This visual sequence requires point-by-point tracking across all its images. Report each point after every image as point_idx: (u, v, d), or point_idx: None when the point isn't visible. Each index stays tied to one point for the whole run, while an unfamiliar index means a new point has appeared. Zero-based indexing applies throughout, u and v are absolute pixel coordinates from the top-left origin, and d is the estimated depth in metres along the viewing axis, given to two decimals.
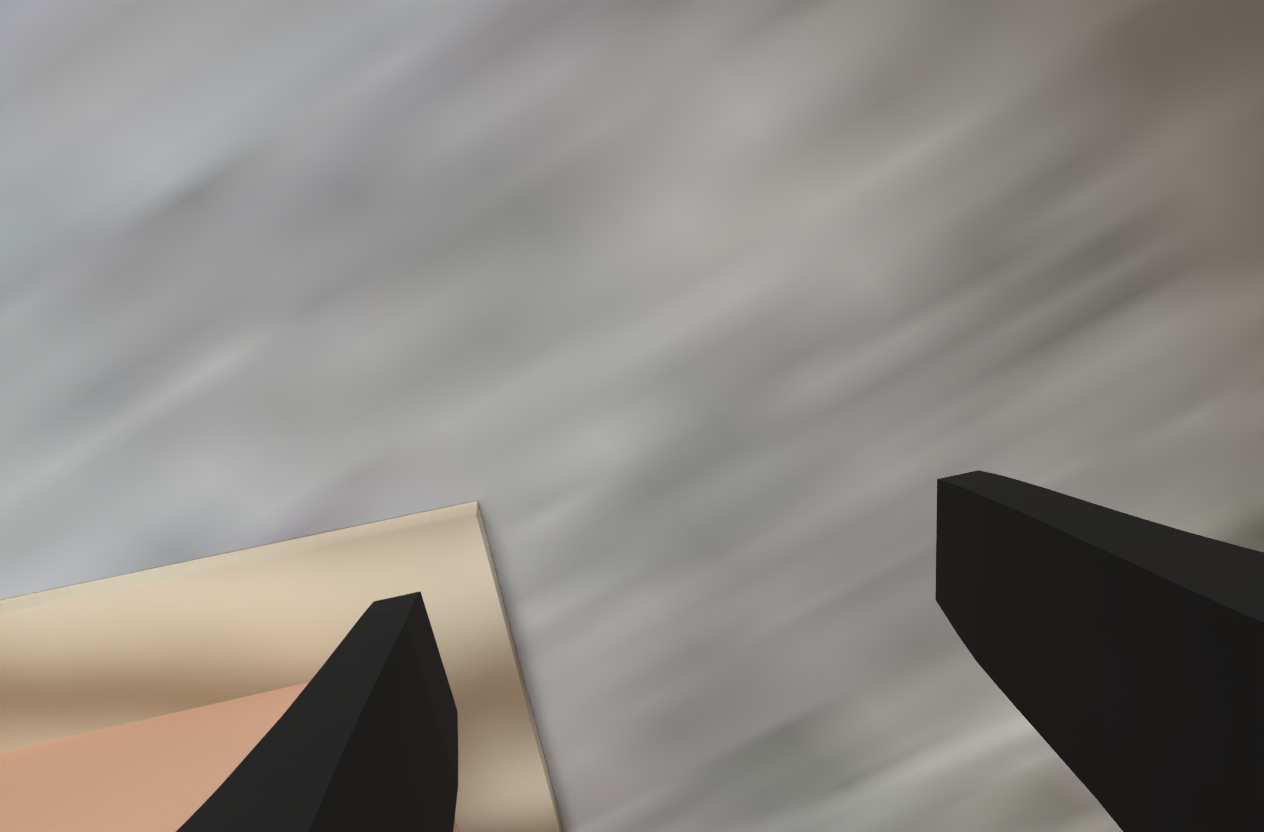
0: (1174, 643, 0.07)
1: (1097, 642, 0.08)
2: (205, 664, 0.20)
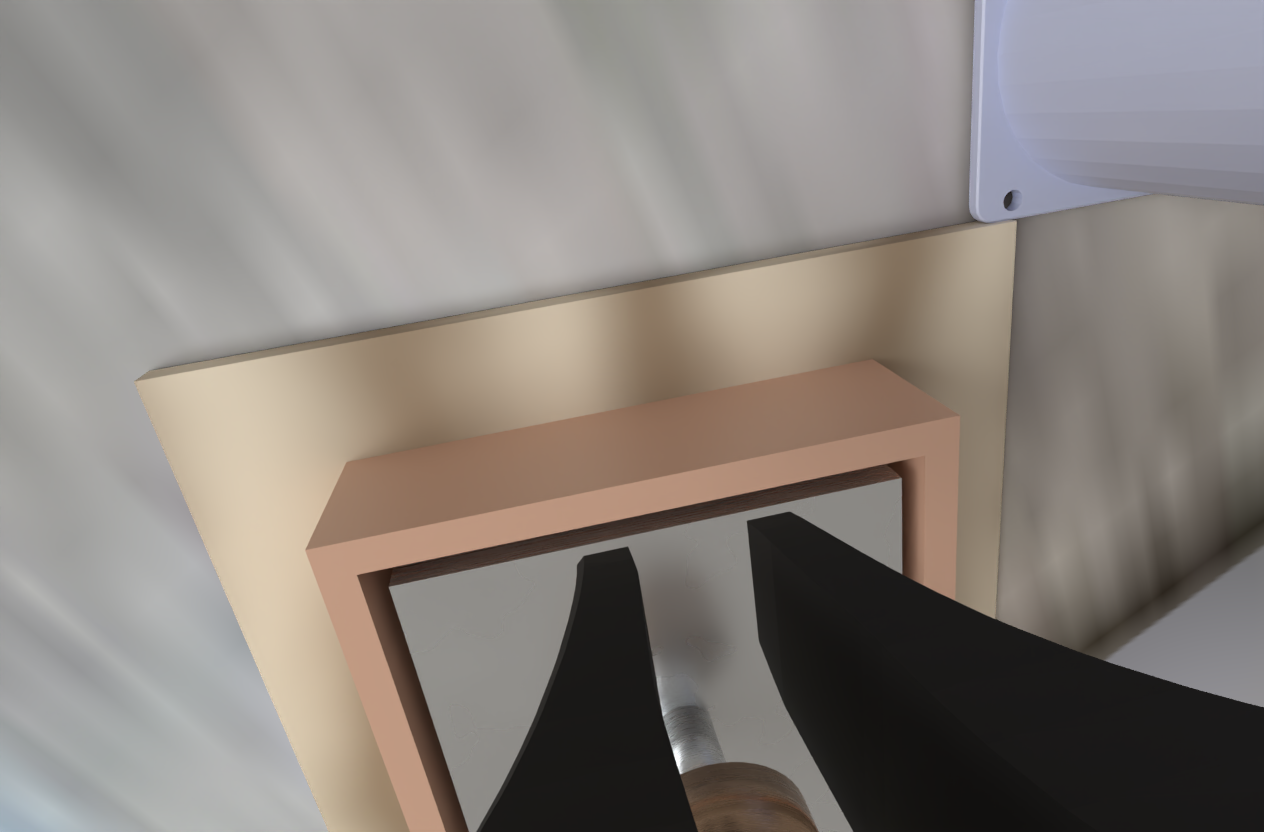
0: (894, 712, 0.06)
1: (852, 702, 0.07)
2: None
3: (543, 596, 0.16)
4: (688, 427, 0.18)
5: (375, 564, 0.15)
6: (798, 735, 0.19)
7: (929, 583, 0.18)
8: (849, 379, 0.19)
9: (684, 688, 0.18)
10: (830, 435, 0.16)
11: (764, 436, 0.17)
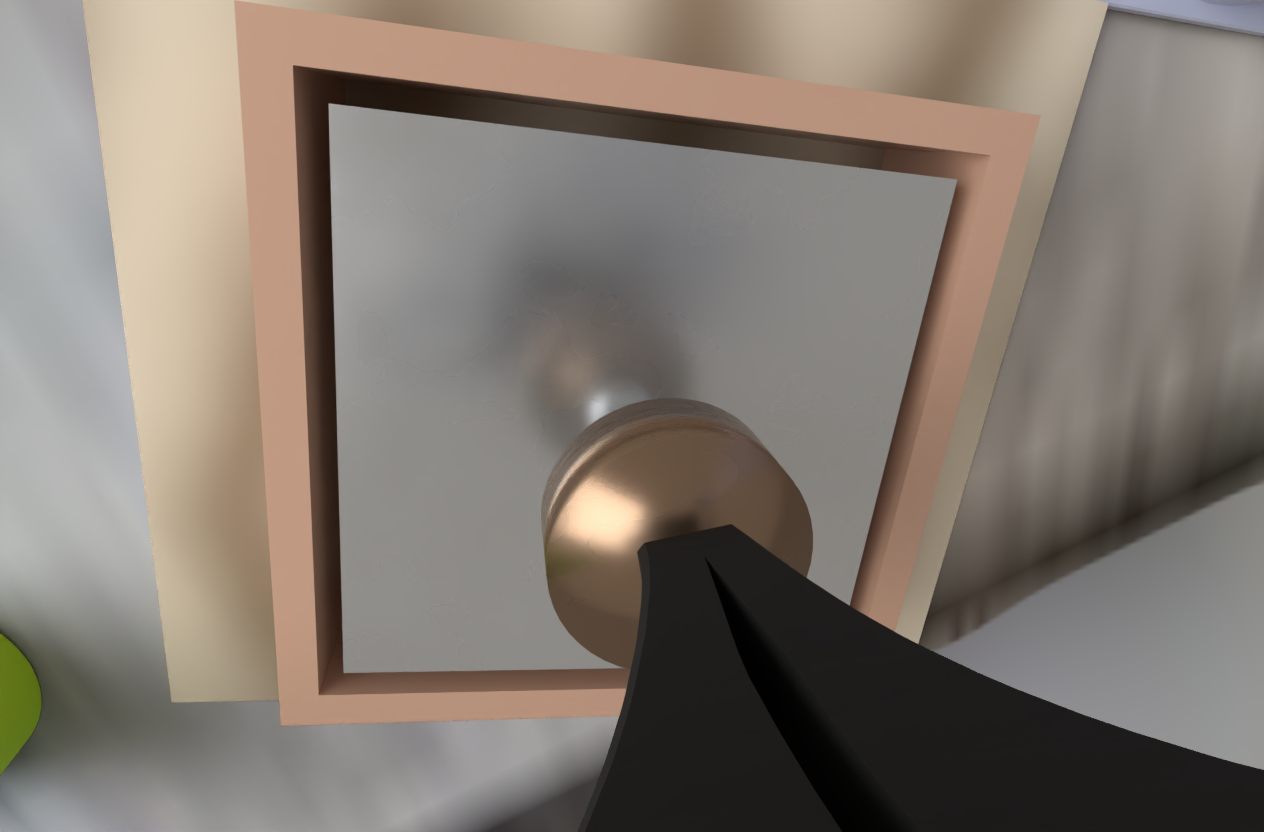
0: (806, 734, 0.06)
1: (775, 721, 0.07)
2: (249, 265, 0.17)
3: (516, 190, 0.13)
4: None
5: (320, 57, 0.12)
6: None
7: (949, 333, 0.15)
8: None
9: (648, 384, 0.15)
10: None
11: None
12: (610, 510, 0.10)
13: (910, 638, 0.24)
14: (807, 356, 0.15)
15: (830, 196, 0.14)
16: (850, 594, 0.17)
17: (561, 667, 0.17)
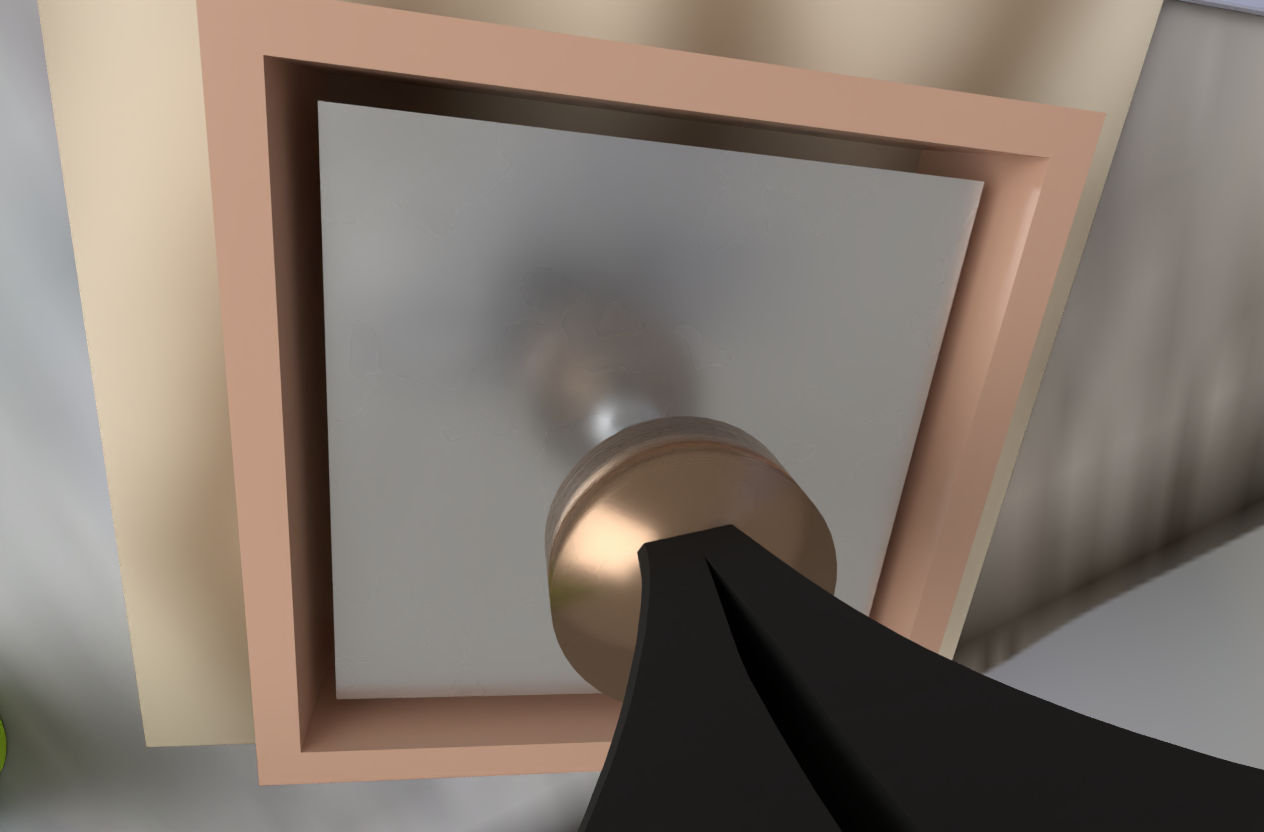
0: (806, 734, 0.06)
1: (775, 721, 0.07)
2: None
3: (518, 193, 0.12)
4: None
5: (295, 46, 0.10)
6: None
7: (999, 354, 0.14)
8: None
9: (656, 396, 0.14)
10: None
11: None
12: (619, 539, 0.10)
13: None
14: (825, 368, 0.14)
15: (850, 199, 0.13)
16: (867, 615, 0.17)
17: (565, 692, 0.16)
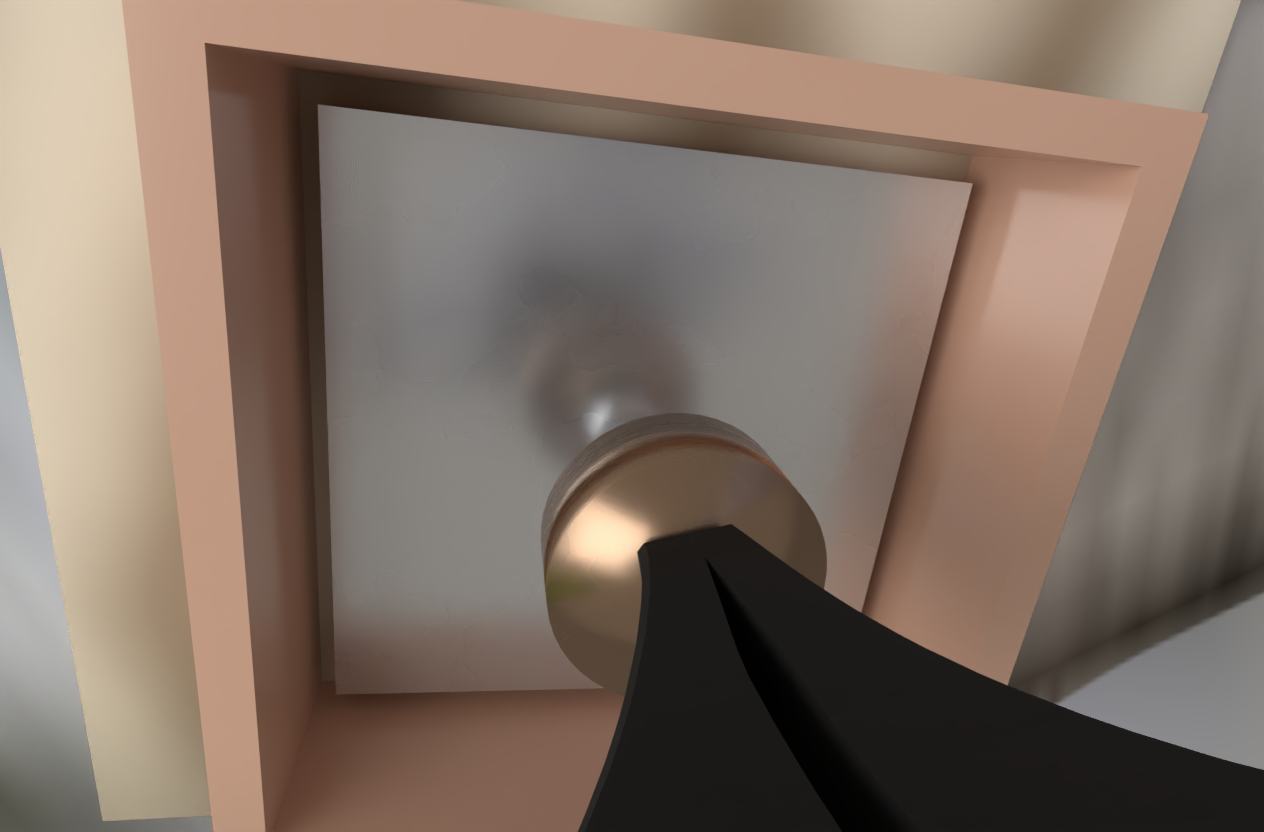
0: (806, 734, 0.06)
1: (775, 721, 0.07)
2: None
3: (514, 195, 0.12)
4: None
5: (244, 32, 0.08)
6: None
7: (1074, 393, 0.12)
8: None
9: (651, 395, 0.14)
10: None
11: None
12: (614, 533, 0.10)
13: None
14: (816, 366, 0.15)
15: (841, 201, 0.13)
16: (859, 610, 0.17)
17: (561, 687, 0.16)
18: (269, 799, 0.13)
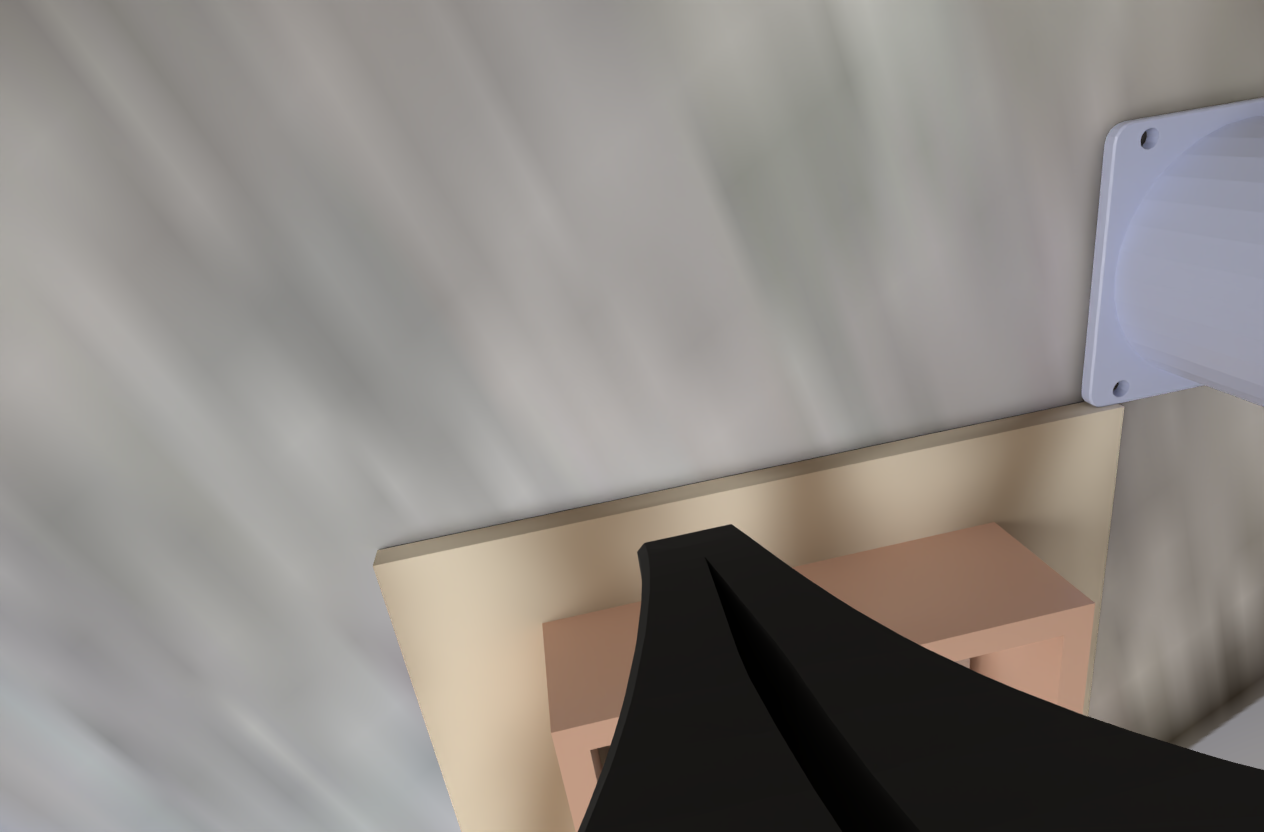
0: (806, 734, 0.06)
1: (775, 721, 0.07)
2: (530, 758, 0.23)
3: None
4: (849, 600, 0.20)
5: (606, 741, 0.18)
6: None
7: None
8: (980, 547, 0.22)
9: None
10: (984, 620, 0.19)
11: (924, 617, 0.19)
12: None
13: None
14: None
15: None
16: None
17: None
18: None
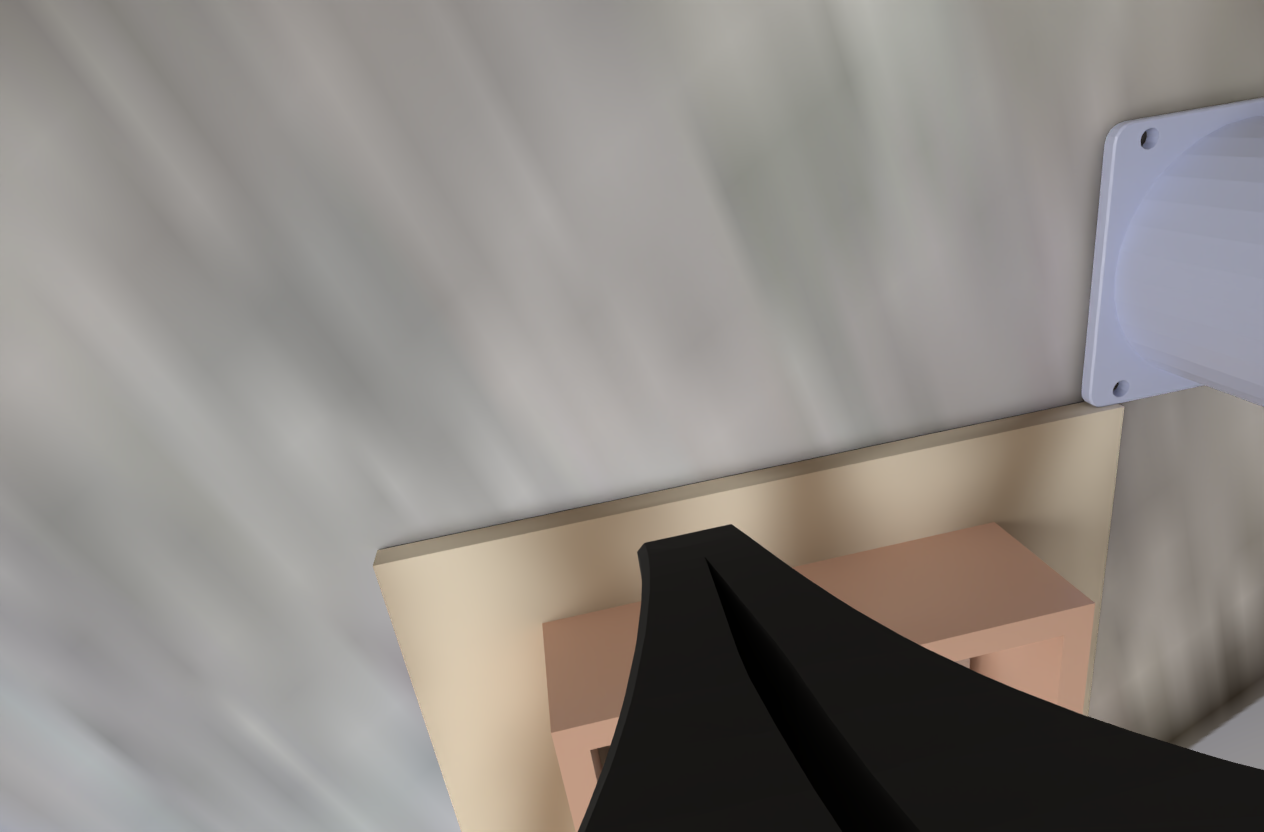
0: (806, 734, 0.06)
1: (775, 721, 0.07)
2: (530, 758, 0.23)
3: None
4: (849, 600, 0.20)
5: (606, 741, 0.18)
6: None
7: None
8: (980, 547, 0.22)
9: None
10: (984, 620, 0.19)
11: (924, 617, 0.19)
12: None
13: None
14: None
15: None
16: None
17: None
18: None
